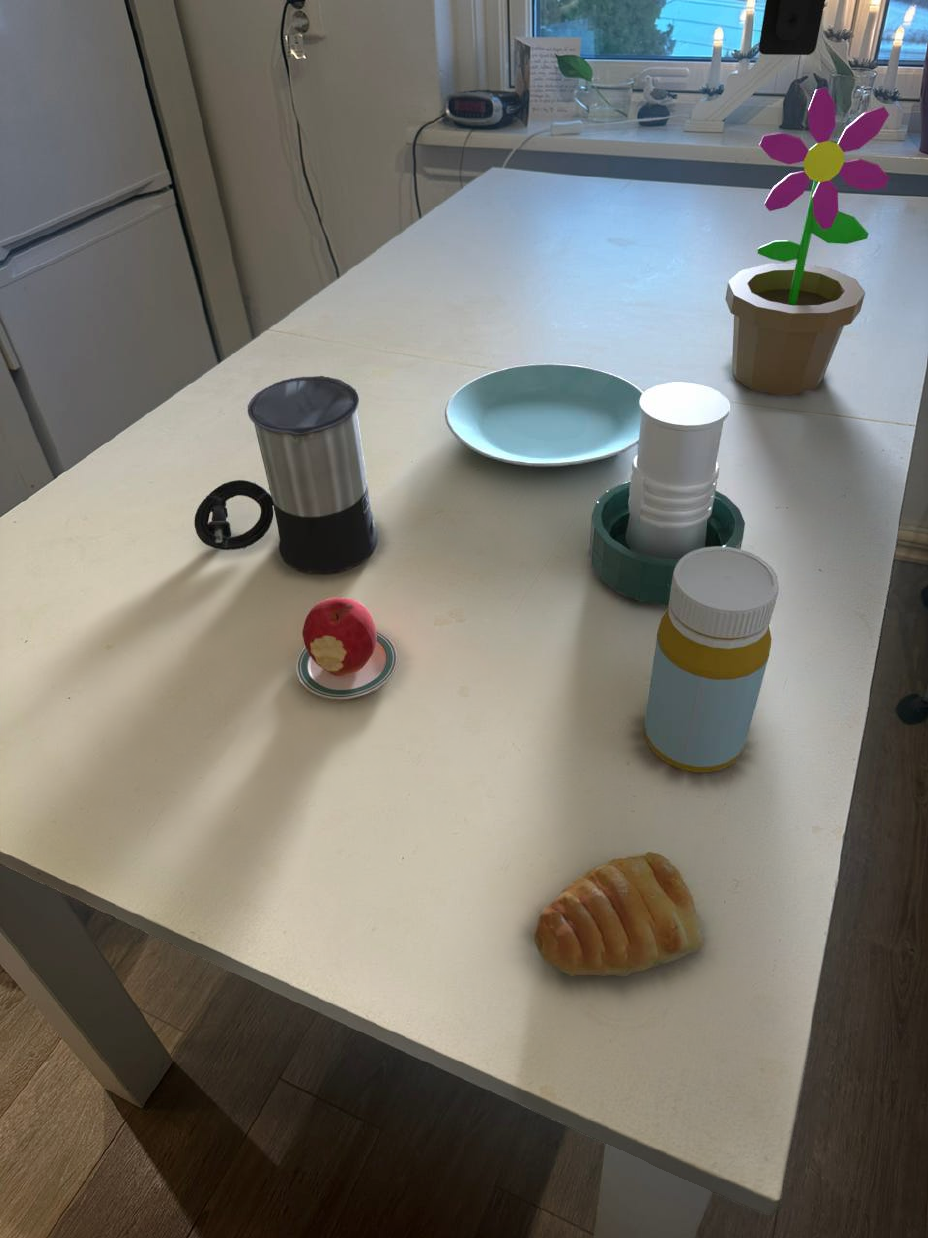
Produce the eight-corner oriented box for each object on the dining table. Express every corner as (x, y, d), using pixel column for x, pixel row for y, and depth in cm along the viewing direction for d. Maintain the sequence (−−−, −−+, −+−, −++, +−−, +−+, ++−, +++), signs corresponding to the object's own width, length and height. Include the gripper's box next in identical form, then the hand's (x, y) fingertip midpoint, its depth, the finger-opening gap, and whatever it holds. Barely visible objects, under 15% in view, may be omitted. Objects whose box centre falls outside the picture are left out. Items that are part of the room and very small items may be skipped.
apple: (412, 683, 68) (405, 621, 63) (312, 716, 66) (298, 654, 61) (379, 620, 73) (370, 559, 69) (286, 649, 71) (271, 588, 67)
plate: (483, 373, 106) (482, 351, 104) (667, 396, 99) (670, 373, 98) (415, 469, 90) (413, 445, 88) (628, 503, 84) (631, 478, 82)
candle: (608, 546, 78) (621, 392, 68) (675, 527, 80) (698, 374, 70) (647, 591, 73) (667, 434, 63) (718, 570, 75) (749, 413, 65)
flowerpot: (707, 395, 99) (755, 93, 79) (720, 341, 109) (766, 61, 89) (840, 410, 96) (927, 97, 75) (842, 353, 106) (919, 63, 85)
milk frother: (392, 560, 79) (373, 413, 69) (218, 608, 75) (173, 460, 65) (348, 482, 89) (326, 343, 79) (193, 521, 85) (150, 380, 75)
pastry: (564, 1014, 48) (567, 982, 46) (515, 911, 53) (515, 877, 51) (710, 952, 51) (720, 918, 48) (651, 859, 55) (657, 823, 53)
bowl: (739, 533, 80) (749, 487, 77) (727, 623, 71) (738, 575, 68) (603, 514, 83) (607, 469, 80) (575, 597, 74) (578, 551, 71)
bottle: (738, 788, 59) (783, 625, 49) (635, 765, 61) (657, 603, 51) (747, 714, 64) (790, 552, 54) (651, 694, 66) (675, 534, 56)
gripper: (960, -410, 36) (854, 67, 48) (929, -356, 49) (851, 15, 60) (773, -389, 38) (714, 65, 50) (788, -342, 50) (738, 15, 62)
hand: (789, 38), depth 55 cm, fingers open, 9 cm apart
